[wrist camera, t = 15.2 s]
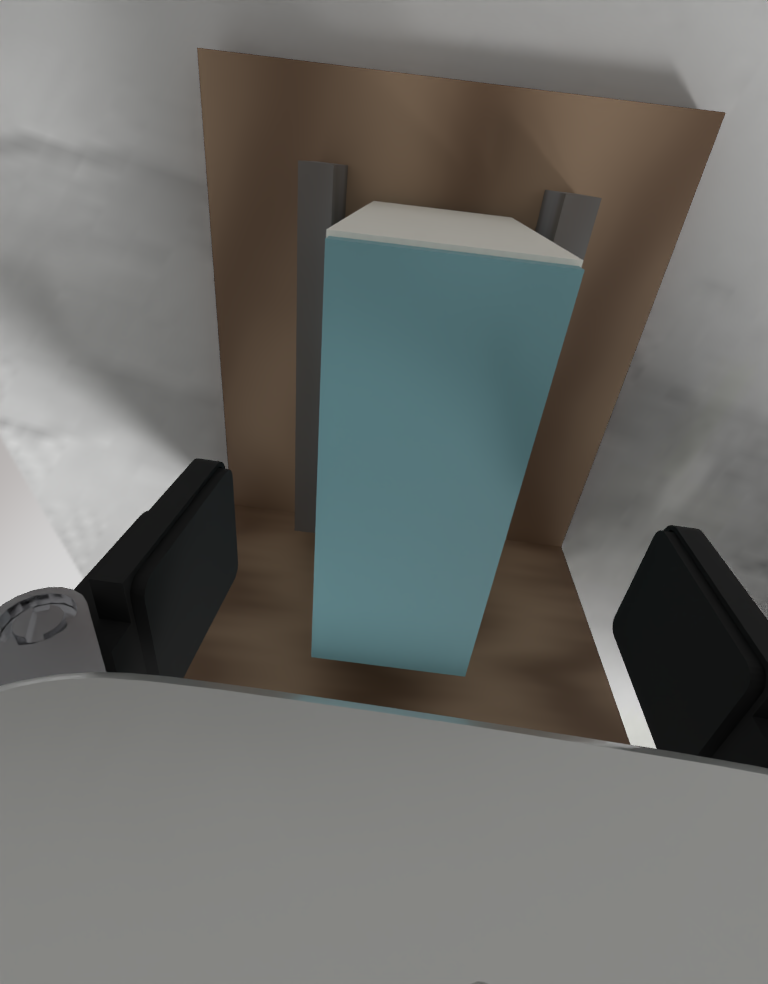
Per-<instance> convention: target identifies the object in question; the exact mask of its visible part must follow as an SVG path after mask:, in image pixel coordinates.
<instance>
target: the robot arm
mask: <svg viewBox="0 0 768 984" xmlns="http://www.w3.org/2000/svg"><path fill="white" fill-rule="evenodd" d="M237 570H238V552H237V536H236V520H235V504H234V488H233V475H232V471H231V470H229V469H225V466H224V464H223V463H222V462H219V461H212V460H205V459H195V460H193V461H192V462H191V464H190V465H189V466H188V467H187V468H186V469H185V470H184V472H183V473H182V474H181V475H180V476H179V477H178V478H177V479H176V481H175V482H174V483H173V484H172V485H171V486H170V487H169V488H168V490H167V491H166V492H165V493H164V494H163V495H162V496H161V497H160V499H159V500H158V501H157V502H156V503H155V504H154V505H153V506H152V508H151V509H150V510H149V511H146V512H144V513H143V514H142V515H141V516H140V517H139V518H138V519H137V520H136V521H135V522H134V523H133V525H132V526H131V527H130V528H129V529H128V530H127V531H126V532H125V533H124V535H123V536H122V537H121V538H120V539H119V540H118V541H117V542H116V543H115V545H114V546H113V547H112V548H111V549H110V550H109V551H108V552H107V553H106V555H105V556H104V557H103V558H102V559H101V560H100V561H99V562H98V563H97V565H96V566H95V567H94V568H93V569H92V570H91V571H90V572H89V573H88V575H87V576H86V577H85V578H84V579H83V580H82V581H81V582H80V584H79V585H78V586H77V587H76V588H75V589H74V590H72V589H67V588H63V587H48V588H43V589H37V590H33V591H30V592H27V593H24V594H22V595H19V596H17V597H15V598H13V599H11V600H10V601H8V602H6V603H5V604H3V605H2V606H0V984H768V620H767V618H766V617H765V616H764V614H763V613H762V612H761V610H760V609H759V608H758V606H757V605H756V604H755V602H754V601H753V600H752V598H751V597H750V596H749V594H748V593H747V592H746V590H745V589H744V587H743V586H742V585H741V583H740V582H739V581H738V579H737V578H736V577H735V575H734V574H733V573H732V571H731V570H730V569H729V567H728V566H727V565H726V563H725V562H724V561H723V559H722V558H721V556H720V555H719V554H718V552H717V551H716V550H715V548H714V547H713V546H712V544H711V543H710V542H709V540H708V539H707V538H706V536H705V535H704V534H703V532H702V531H701V530H699V529H695V528H687V527H680V526H673V525H670V526H667V527H666V528H665V529H664V531H661V530H660V531H658V532H657V533H656V534H655V535H654V537H653V539H652V541H651V543H650V545H649V548H648V550H647V552H646V554H645V556H644V558H643V560H642V562H641V564H640V566H639V568H638V570H637V572H636V574H635V576H634V578H633V580H632V582H631V585H630V587H629V589H628V591H627V593H626V595H625V597H624V599H623V601H622V603H621V605H620V607H619V609H618V611H617V613H616V615H615V618H614V620H613V634H614V637H615V640H616V642H617V645H618V648H619V650H620V653H621V656H622V658H623V661H624V663H625V666H626V669H627V671H628V674H629V677H630V679H631V682H632V685H633V687H634V690H635V692H636V695H637V698H638V700H639V703H640V706H641V708H642V711H643V714H644V716H645V719H646V722H647V724H648V727H649V729H650V732H651V735H652V737H653V740H654V743H655V745H656V748H657V749H653V748H647V747H641V746H634V745H628V744H622V743H616V742H609V741H603V740H597V739H590V738H584V737H578V736H571V735H565V734H559V733H552V732H546V731H540V730H533V729H527V728H520V727H514V726H507V725H501V724H494V723H488V722H481V721H475V720H468V719H462V718H455V717H448V716H442V715H435V714H429V713H422V712H415V711H409V710H402V709H396V708H389V707H383V706H376V705H369V704H362V703H355V702H349V701H342V700H335V699H328V698H321V697H315V696H308V695H301V694H294V693H287V692H281V691H274V690H267V689H260V688H253V687H246V686H238V685H230V684H223V683H215V682H207V681H200V680H192V679H184V676H185V674H186V672H187V670H188V668H189V666H190V664H191V662H192V660H193V659H194V657H195V655H196V653H197V651H198V649H199V647H200V645H201V643H202V641H203V639H204V637H205V635H206V634H207V632H208V630H209V628H210V626H211V624H212V622H213V620H214V618H215V616H216V614H217V612H218V610H219V608H220V607H221V605H222V603H223V601H224V599H225V597H226V595H227V593H228V591H229V589H230V587H231V585H232V583H233V582H234V580H235V577H236V574H237Z"/></svg>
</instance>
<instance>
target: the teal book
mask: <svg viewBox="0 0 768 984" xmlns="http://www.w3.org/2000/svg"><path fill="white" fill-rule="evenodd" d="M582 264H583V260H582V259H580V258H579V257H577V256H575V255H574V254H572V253H570V252H569V251H567V250H565V249H564V248H562V247H560V246H559V245H557V244H555V243H554V242H552V241H550V240H549V239H547V238H545V237H544V236H542V235H540V234H539V233H537V232H535V231H534V230H532V229H530V228H529V227H527V226H525V225H524V224H522V223H520V222H519V221H517V220H515V219H514V218H512V217H504V216H495V215H487V214H479V213H470V212H462V211H454V210H445V209H437V208H429V207H421V206H412V205H404V204H396V203H387V202H379V201H372V202H371V203H369V204H367V205H366V206H364V207H363V208H361V209H359V210H358V211H356V212H354V213H353V214H351V215H349V216H348V217H346V218H344V219H343V220H341V221H339V222H338V223H336V224H334V225H333V226H331V227H329V228H328V229H326V238H325V258H324V287H323V317H322V347H321V377H320V407H319V437H318V467H317V497H316V527H315V557H314V587H313V617H312V647H311V657H315V658H322V659H330V660H338V661H346V662H354V663H362V664H369V665H377V666H385V667H393V668H401V669H408V670H416V671H424V672H432V673H440V674H448V675H455V676H463V677H465V675H466V672H467V668H468V665H469V662H470V658H471V655H472V651H473V648H474V645H475V641H476V638H477V634H478V631H479V628H480V624H481V621H482V617H483V614H484V611H485V607H486V604H487V600H488V597H489V594H490V590H491V587H492V583H493V580H494V577H495V573H496V570H497V566H498V563H499V560H500V556H501V553H502V549H503V546H504V543H505V539H506V536H507V532H508V529H509V526H510V522H511V519H512V515H513V512H514V509H515V505H516V502H517V498H518V495H519V492H520V488H521V485H522V481H523V478H524V475H525V471H526V468H527V464H528V461H529V458H530V454H531V451H532V447H533V444H534V441H535V437H536V434H537V430H538V427H539V424H540V420H541V417H542V413H543V410H544V407H545V403H546V400H547V396H548V393H549V390H550V386H551V383H552V379H553V376H554V373H555V369H556V366H557V362H558V359H559V356H560V352H561V349H562V345H563V342H564V339H565V335H566V332H567V328H568V325H569V322H570V318H571V315H572V311H573V308H574V305H575V301H576V298H577V294H578V291H579V288H580V284H581V281H582V277H583V274H584V271H585V270H584V269H582V268H581V267H582Z"/></svg>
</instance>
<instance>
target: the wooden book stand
mask: <svg viewBox="0 0 768 984" xmlns="http://www.w3.org/2000/svg"><path fill="white" fill-rule="evenodd" d="M197 52H198V65H199V79H200V92H201V105H202V119H203V132H204V146H205V159H206V173H207V186H208V200H209V213H210V227H211V240H212V254H213V267H214V281H215V294H216V308H217V321H218V335H219V348H220V362H221V375H222V389H223V402H224V415H225V429H226V442H227V456H228V469H229V470H231V471H232V475H233V488H234V504H235V520H236V536H237V552H238V570H237V574H236V577H235V580H234V582H233V583H232V585H231V587H230V589H229V591H228V593H227V595H226V597H225V599H224V601H223V603H222V605H221V607H220V608H219V610H218V612H217V614H216V616H215V618H214V620H213V622H212V624H211V626H210V628H209V630H208V632H207V634H206V635H205V637H204V639H203V641H202V643H201V645H200V647H199V649H198V651H197V653H196V655H195V657H194V659H193V660H192V662H191V664H190V666H189V668H188V670H187V672H186V674H185V676H184V679H192V680H200V681H207V682H215V683H223V684H230V685H238V686H246V687H253V688H260V689H267V690H274V691H281V692H287V693H294V694H301V695H308V696H315V697H321V698H328V699H335V700H342V701H349V702H355V703H362V704H369V705H376V706H383V707H389V708H396V709H402V710H409V711H415V712H422V713H429V714H435V715H442V716H448V717H455V718H462V719H468V720H475V721H481V722H488V723H494V724H501V725H507V726H514V727H520V728H527V729H533V730H540V731H546V732H552V733H559V734H565V735H571V736H578V737H584V738H590V739H597V740H603V741H609V742H616V743H622V744H628V745H630V742H629V739H628V737H627V734H626V731H625V728H624V725H623V722H622V719H621V716H620V714H619V711H618V708H617V705H616V702H615V699H614V696H613V694H612V691H611V688H610V685H609V682H608V679H607V676H606V674H605V671H604V668H603V665H602V662H601V659H600V656H599V654H598V651H597V648H596V645H595V642H594V639H593V636H592V634H591V631H590V628H589V625H588V622H587V619H586V616H585V614H584V611H583V608H582V605H581V602H580V599H579V596H578V593H577V591H576V588H575V585H574V582H573V579H572V576H571V573H570V571H569V568H568V565H567V562H566V559H565V556H564V553H563V551H562V548H561V546H562V543H563V541H564V538H565V535H566V533H567V530H568V527H569V525H570V522H571V520H572V517H573V514H574V512H575V509H576V506H577V504H578V501H579V498H580V496H581V493H582V491H583V488H584V485H585V483H586V480H587V477H588V475H589V472H590V469H591V467H592V464H593V461H594V459H595V456H596V454H597V451H598V448H599V446H600V443H601V440H602V438H603V435H604V432H605V430H606V427H607V424H608V422H609V419H610V417H611V414H612V411H613V409H614V406H615V403H616V401H617V398H618V395H619V393H620V390H621V388H622V385H623V382H624V380H625V377H626V374H627V372H628V369H629V366H630V364H631V361H632V358H633V356H634V353H635V351H636V348H637V345H638V343H639V340H640V337H641V335H642V332H643V329H644V327H645V324H646V321H647V319H648V316H649V314H650V311H651V308H652V306H653V303H654V300H655V298H656V295H657V292H658V290H659V287H660V285H661V282H662V279H663V277H664V274H665V271H666V269H667V266H668V263H669V261H670V258H671V255H672V253H673V250H674V248H675V245H676V242H677V240H678V237H679V234H680V232H681V229H682V226H683V224H684V221H685V218H686V216H687V213H688V211H689V208H690V205H691V203H692V200H693V197H694V195H695V192H696V189H697V187H698V184H699V182H700V179H701V176H702V174H703V171H704V168H705V166H706V163H707V160H708V158H709V155H710V152H711V150H712V147H713V145H714V142H715V139H716V137H717V134H718V131H719V129H720V126H721V123H722V121H723V118H724V115H725V113H724V112H716V111H708V110H700V109H692V108H684V107H676V106H667V105H659V104H651V103H643V102H635V101H627V100H618V99H610V98H602V97H594V96H586V95H578V94H570V93H561V92H553V91H545V90H537V89H529V88H521V87H513V86H504V85H496V84H488V83H480V82H472V81H464V80H455V79H447V78H439V77H431V76H423V75H415V74H407V73H398V72H390V71H382V70H374V69H366V68H358V67H350V66H341V65H333V64H325V63H317V62H309V61H301V60H293V59H284V58H276V57H268V56H260V55H252V54H244V53H235V52H227V51H219V50H211V49H203V48H197ZM372 201H379V202H387V203H396V204H404V205H412V206H421V207H429V208H437V209H445V210H454V211H462V212H470V213H479V214H487V215H495V216H504V217H512V218H514V219H515V220H517V221H519V222H520V223H522V224H524V225H525V226H527V227H529V228H530V229H532V230H534V231H535V232H537V233H539V234H540V235H542V236H544V237H545V238H547V239H549V240H550V241H552V242H554V243H555V244H557V245H559V246H560V247H562V248H564V249H565V250H567V251H569V252H570V253H572V254H574V255H575V256H577V257H579V258H580V259H582V260H583V264H582V267H581V268H582V269H584V270H585V271H584V274H583V277H582V281H581V284H580V288H579V291H578V294H577V298H576V301H575V305H574V308H573V311H572V315H571V318H570V322H569V325H568V328H567V332H566V335H565V339H564V342H563V345H562V349H561V352H560V356H559V359H558V362H557V366H556V369H555V373H554V376H553V379H552V383H551V386H550V390H549V393H548V396H547V400H546V403H545V407H544V410H543V413H542V417H541V420H540V424H539V427H538V430H537V434H536V437H535V441H534V444H533V447H532V451H531V454H530V458H529V461H528V464H527V468H526V471H525V475H524V478H523V481H522V485H521V488H520V492H519V495H518V498H517V502H516V505H515V509H514V512H513V515H512V519H511V522H510V526H509V529H508V532H507V536H506V539H505V543H504V546H503V549H502V553H501V556H500V560H499V563H498V566H497V570H496V573H495V577H494V580H493V583H492V587H491V590H490V594H489V597H488V600H487V604H486V607H485V611H484V614H483V617H482V621H481V624H480V628H479V631H478V634H477V638H476V641H475V645H474V648H473V651H472V655H471V658H470V662H469V665H468V668H467V672H466V675H465V677H463V676H455V675H448V674H440V673H432V672H424V671H416V670H408V669H401V668H393V667H385V666H377V665H369V664H362V663H354V662H346V661H338V660H330V659H322V658H315V657H311V647H312V617H313V587H314V557H315V527H316V497H317V467H318V437H319V407H320V377H321V347H322V317H323V287H324V258H325V238H326V229H328V228H329V227H331V226H333V225H334V224H336V223H338V222H339V221H341V220H343V219H344V218H346V217H348V216H349V215H351V214H353V213H354V212H356V211H358V210H359V209H361V208H363V207H364V206H366V205H367V204H369V203H371V202H372Z"/></svg>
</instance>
